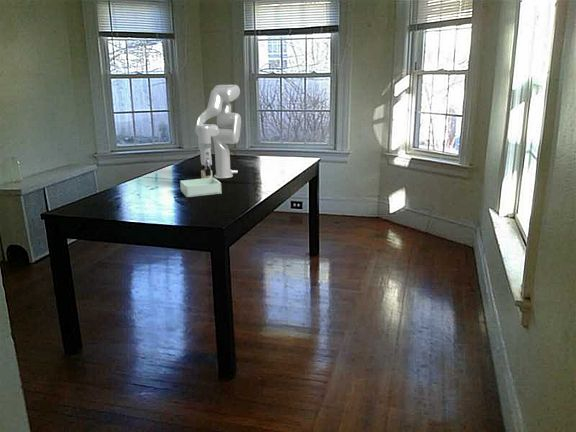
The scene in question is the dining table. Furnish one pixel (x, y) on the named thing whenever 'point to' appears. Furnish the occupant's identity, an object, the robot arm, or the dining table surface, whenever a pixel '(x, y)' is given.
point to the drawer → (204, 174)
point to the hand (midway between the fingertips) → (206, 174)
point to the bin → (200, 187)
